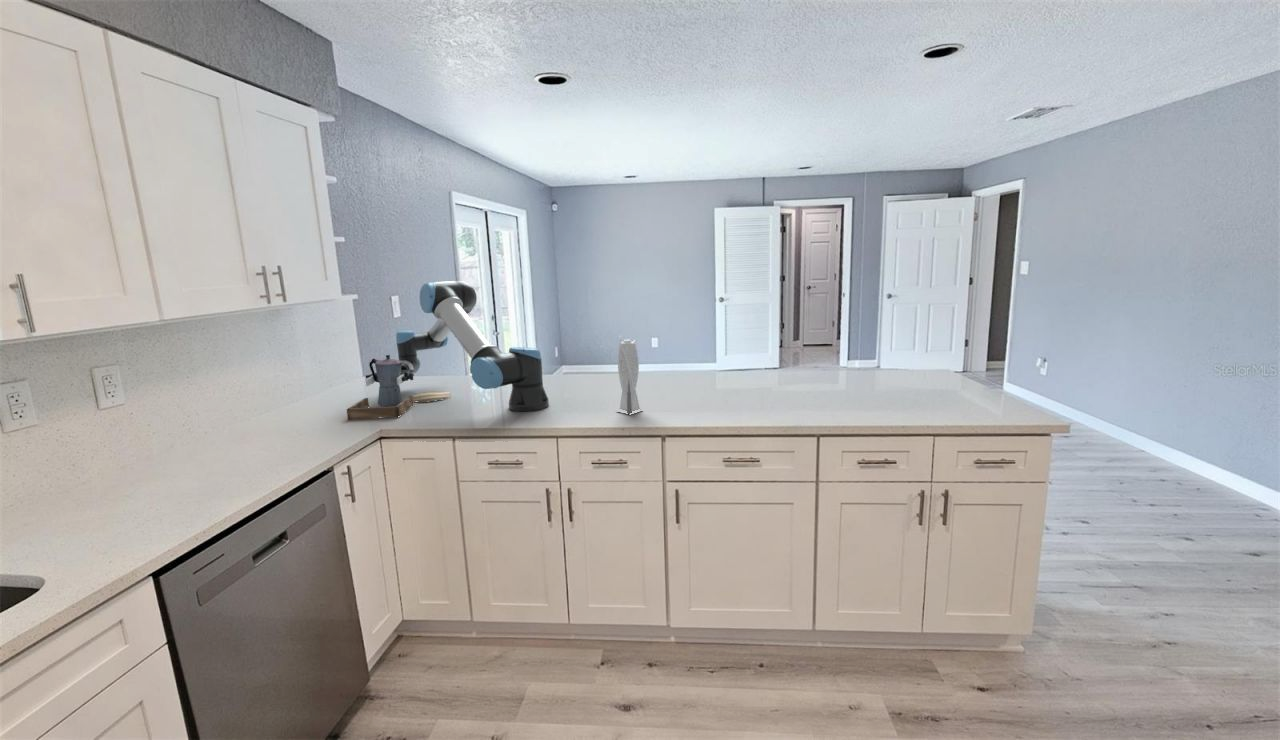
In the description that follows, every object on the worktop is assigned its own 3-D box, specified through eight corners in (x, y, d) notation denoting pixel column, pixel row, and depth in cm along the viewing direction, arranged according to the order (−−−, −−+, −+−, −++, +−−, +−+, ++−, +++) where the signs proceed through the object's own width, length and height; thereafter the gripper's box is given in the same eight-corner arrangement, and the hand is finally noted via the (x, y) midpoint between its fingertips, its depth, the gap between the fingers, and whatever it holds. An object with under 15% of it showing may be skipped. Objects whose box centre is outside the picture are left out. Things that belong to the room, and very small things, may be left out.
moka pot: (399, 408, 218) (395, 357, 214) (364, 406, 221) (358, 356, 217) (413, 402, 227) (409, 353, 223) (379, 400, 230) (374, 352, 226)
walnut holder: (366, 407, 223) (364, 398, 222) (413, 405, 225) (412, 395, 224) (347, 419, 207) (346, 409, 206) (399, 417, 208) (398, 407, 207)
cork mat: (454, 398, 233) (454, 397, 233) (413, 404, 226) (413, 402, 226) (447, 391, 247) (446, 389, 247) (408, 396, 240) (407, 394, 239)
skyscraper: (613, 411, 208) (610, 336, 202) (628, 406, 214) (626, 333, 208) (629, 415, 202) (627, 338, 196) (645, 410, 208) (643, 335, 202)
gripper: (430, 378, 241) (414, 390, 220) (374, 380, 240) (352, 392, 218) (428, 360, 240) (412, 371, 218) (371, 363, 238) (349, 373, 217)
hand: (382, 382), depth 218 cm, fingers closed on moka pot, 11 cm apart
